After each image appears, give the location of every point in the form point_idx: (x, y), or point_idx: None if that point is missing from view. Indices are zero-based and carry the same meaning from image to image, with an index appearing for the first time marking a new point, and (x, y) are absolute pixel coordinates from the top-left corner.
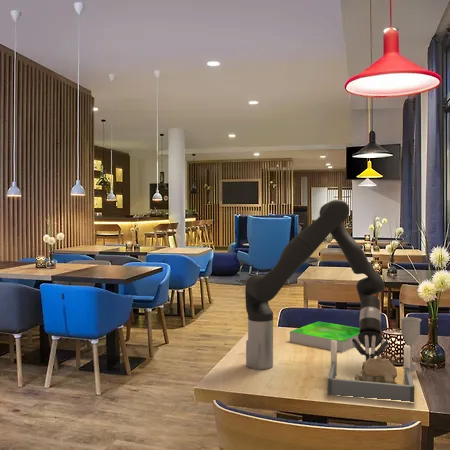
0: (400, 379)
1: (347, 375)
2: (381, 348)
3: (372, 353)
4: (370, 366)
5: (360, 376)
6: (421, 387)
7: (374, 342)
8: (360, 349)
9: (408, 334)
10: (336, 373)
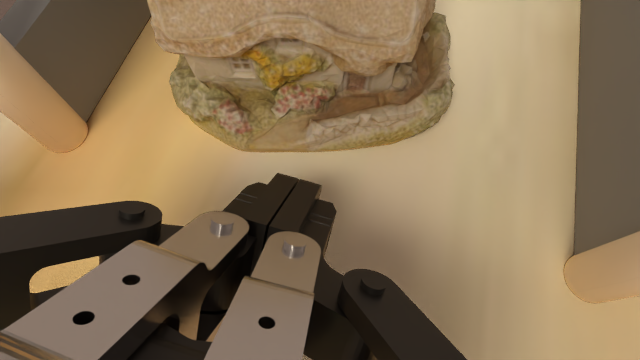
0: (80, 183)
1: (473, 279)
2: (34, 223)
3: (230, 217)
4: None
5: (409, 100)
6: None
7: (72, 298)
8: (401, 300)
9: None
10: (578, 258)
